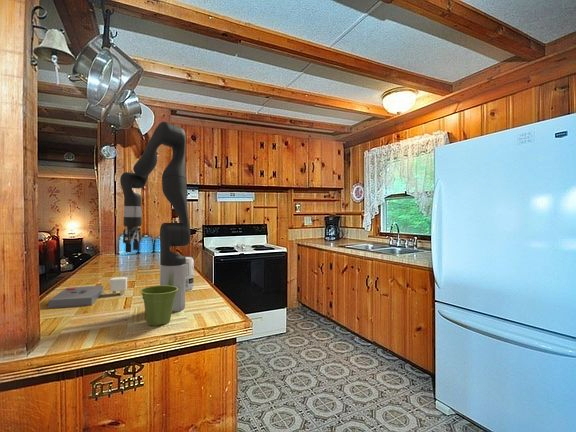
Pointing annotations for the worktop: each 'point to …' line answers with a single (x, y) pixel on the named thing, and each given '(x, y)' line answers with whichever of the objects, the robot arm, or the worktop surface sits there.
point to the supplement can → (189, 273)
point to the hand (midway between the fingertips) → (132, 251)
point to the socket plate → (76, 296)
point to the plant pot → (158, 303)
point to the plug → (118, 284)
